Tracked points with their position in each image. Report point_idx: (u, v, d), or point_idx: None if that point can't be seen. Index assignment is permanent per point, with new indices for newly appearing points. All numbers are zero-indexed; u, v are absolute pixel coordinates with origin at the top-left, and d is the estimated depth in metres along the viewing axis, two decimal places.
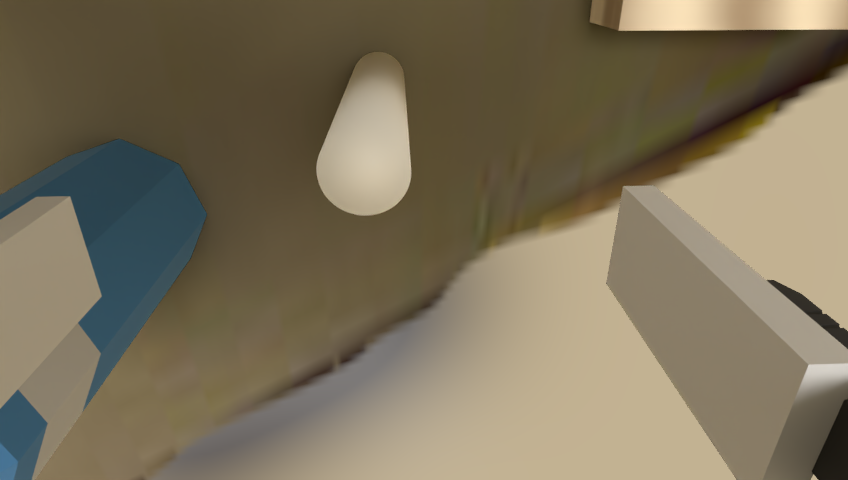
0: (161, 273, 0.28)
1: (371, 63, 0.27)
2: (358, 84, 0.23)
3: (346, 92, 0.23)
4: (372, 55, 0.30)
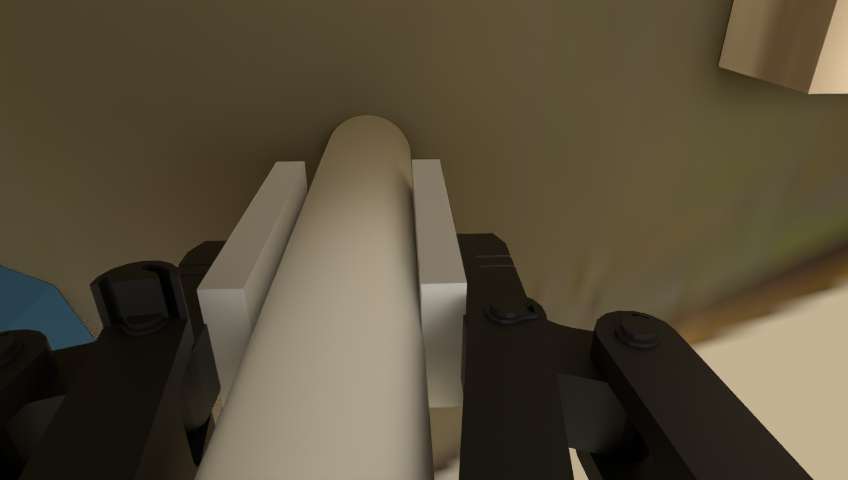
0: None
1: (352, 151, 0.15)
2: (316, 231, 0.11)
3: (291, 245, 0.11)
4: (357, 125, 0.17)
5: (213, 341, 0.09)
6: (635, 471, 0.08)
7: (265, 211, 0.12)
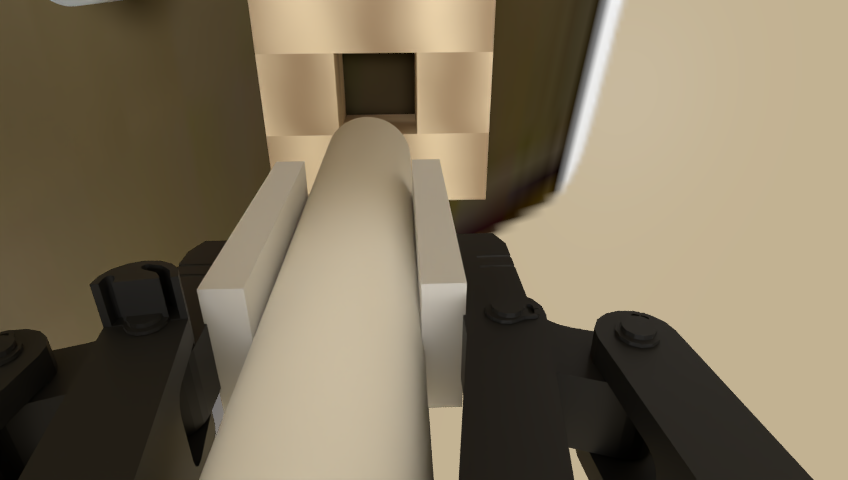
0: None
1: (353, 153, 0.15)
2: (318, 231, 0.11)
3: (294, 245, 0.11)
4: (357, 127, 0.18)
5: (213, 341, 0.09)
6: (635, 471, 0.08)
7: (265, 211, 0.12)
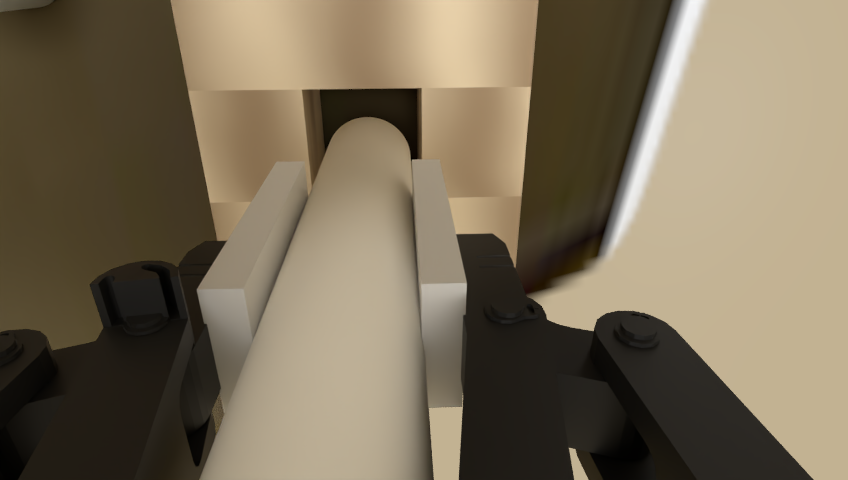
0: None
1: (353, 153, 0.15)
2: (318, 232, 0.11)
3: (294, 246, 0.11)
4: (357, 127, 0.18)
5: (213, 341, 0.09)
6: (635, 471, 0.08)
7: (265, 211, 0.12)
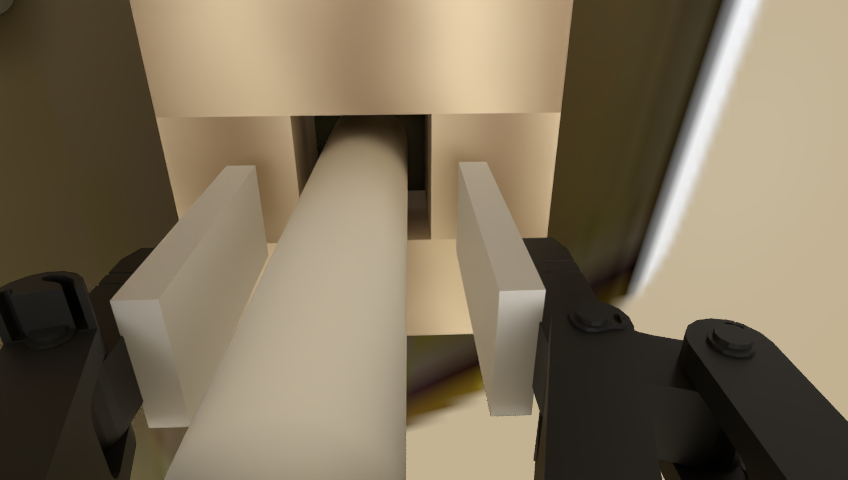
0: None
1: (352, 135, 0.17)
2: (317, 196, 0.12)
3: (296, 209, 0.13)
4: None
5: (131, 353, 0.09)
6: None
7: (201, 217, 0.11)
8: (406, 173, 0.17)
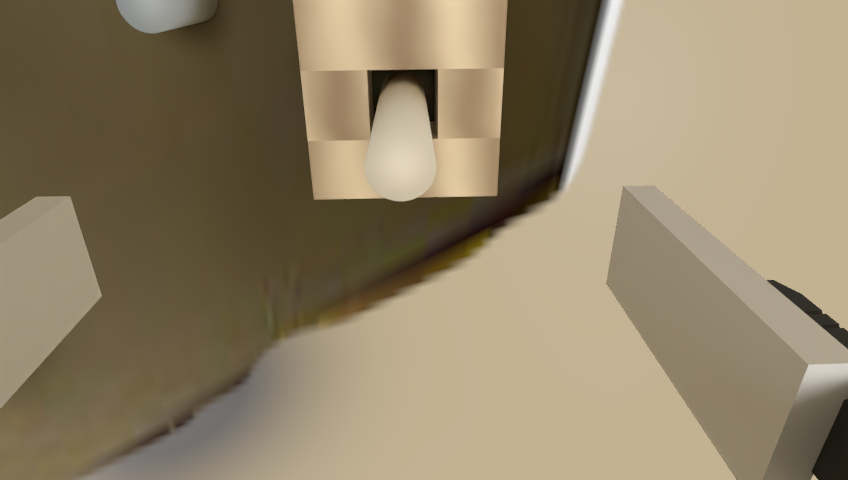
0: None
1: (398, 81, 0.33)
2: (390, 99, 0.28)
3: (380, 105, 0.28)
4: (398, 73, 0.35)
5: None
6: None
7: None
8: None
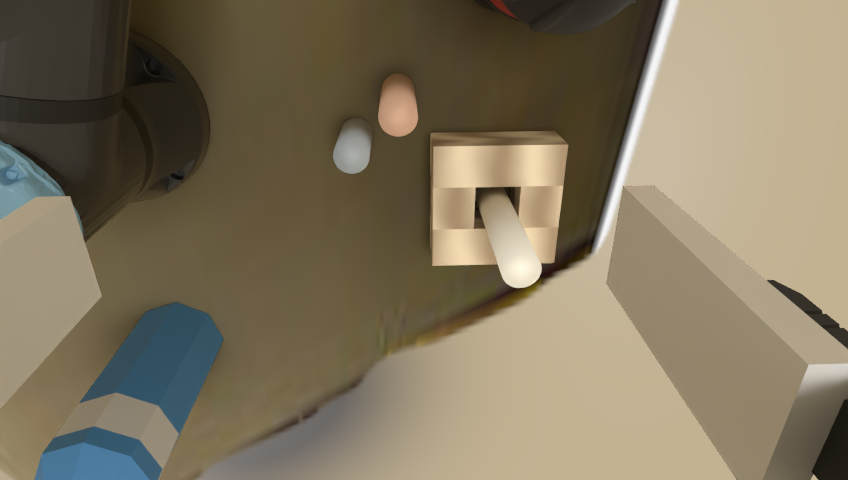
0: (201, 384, 0.54)
1: (494, 192, 0.50)
2: (499, 215, 0.46)
3: (493, 218, 0.46)
4: None
5: None
6: None
7: None
8: None
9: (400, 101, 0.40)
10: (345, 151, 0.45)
